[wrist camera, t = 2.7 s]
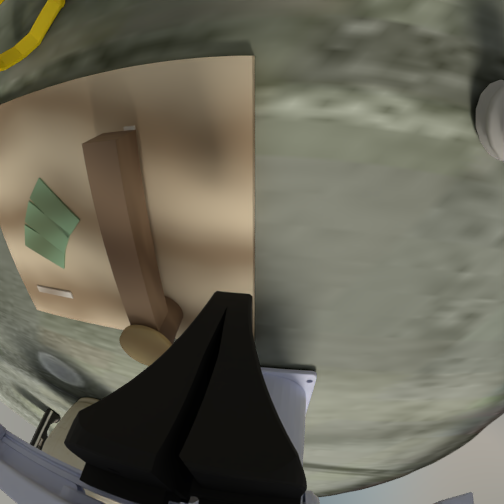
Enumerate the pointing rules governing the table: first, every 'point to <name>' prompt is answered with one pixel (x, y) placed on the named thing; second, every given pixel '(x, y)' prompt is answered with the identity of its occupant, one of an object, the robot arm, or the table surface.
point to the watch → (32, 35)
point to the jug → (57, 447)
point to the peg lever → (130, 244)
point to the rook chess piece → (491, 119)
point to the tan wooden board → (153, 177)
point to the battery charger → (44, 428)
